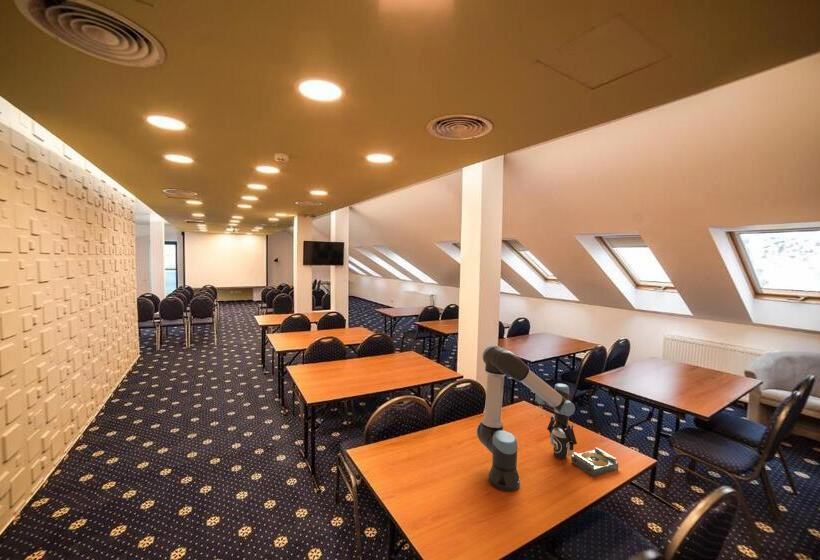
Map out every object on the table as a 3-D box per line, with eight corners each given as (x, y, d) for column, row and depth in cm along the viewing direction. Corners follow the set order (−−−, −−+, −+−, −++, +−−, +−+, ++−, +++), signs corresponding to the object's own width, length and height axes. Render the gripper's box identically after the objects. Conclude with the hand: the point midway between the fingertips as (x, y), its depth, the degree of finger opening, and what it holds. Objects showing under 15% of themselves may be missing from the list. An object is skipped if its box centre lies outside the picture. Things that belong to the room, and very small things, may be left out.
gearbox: (592, 477, 176) (592, 466, 176) (570, 462, 189) (570, 452, 189) (618, 470, 182) (618, 459, 182) (595, 456, 195) (595, 446, 195)
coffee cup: (567, 462, 188) (568, 436, 188) (549, 456, 194) (549, 430, 194) (571, 455, 196) (572, 429, 196) (553, 449, 202) (554, 424, 201)
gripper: (584, 419, 184) (583, 459, 185) (550, 403, 207) (550, 438, 207) (573, 421, 181) (573, 461, 182) (541, 404, 204) (540, 440, 205)
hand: (561, 449), depth 195 cm, fingers open, 12 cm apart
